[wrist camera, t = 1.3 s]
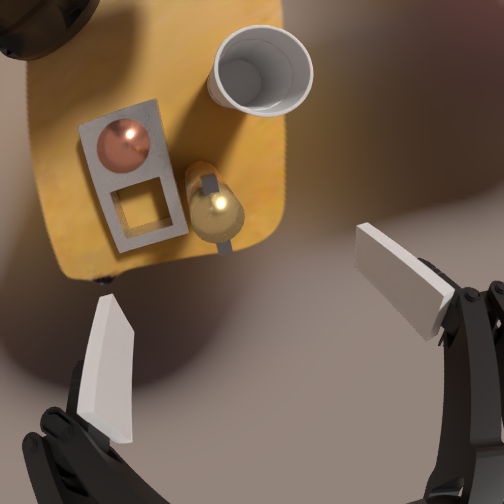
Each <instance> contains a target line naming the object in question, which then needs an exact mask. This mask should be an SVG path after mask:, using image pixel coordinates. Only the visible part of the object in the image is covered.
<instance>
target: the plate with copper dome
mask: <svg viewBox="0 0 504 504" xmlns="http://www.w3.org/2000/svg"><path fill="white" fill-rule="evenodd" d="M78 130H79V134H80V138H81V142H82V146H83V150H84V153H85V157H86V160H87V164H88V167H89V171H90V174H91V177H92V180H93V183H94V186H95V189H96V192H97V195H98V198H99V201H100V204H101V207H102V210H103V212H104V215H105V218H106V221H107V223H108V226H109V228H110V231H111V233H112V236H113V238H114V241H115V243H116V246H117V248H118V251H119V253H123V252H126V251H129V250H132V249H136V248H139V247H142V246H146V245H149V244H153V243H156V242H159V241H163V240H166V239H170V238H173V237H177V236H180V235H184V234H188V233H189V230H188V223H187V219H186V216H185V212H184V209H183V205H182V201H181V197H180V194H179V190H178V186H177V182H176V178H175V174H174V170H173V166H172V162H171V158H170V154H169V150H168V146H167V141H166V137H165V133H164V128H163V124H162V119H161V115H160V110H159V105H158V100H157V99H152V100H149V101H145V102H142V103H139V104H136V105H132V106H129V107H126V108H123V109H120V110H118V111H115V112H112V113H109V114H107V115H104V116H101V117H99V118H96V119H94V120H91V121H89V122H86V123H84V124H82V125H79V126H78ZM156 177H160V181H161V184H162V188H163V191H164V195H165V199H166V202H167V205H168V209H169V212H170V216H171V217H168V218H165V219H161V220H158V221H154V222H151V223H148V224H144V225H141V226H138V227H135V228H131V229H129V226H128V223H127V221H126V218H125V215H124V212H123V209H122V206H121V203H120V200H119V197H118V194H117V191H116V190H119V189H122V188H125V187H128V186H131V185H134V184H137V183H140V182H143V181H146V180H150V179H153V178H156Z"/></svg>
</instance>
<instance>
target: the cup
mask: <svg viewBox="0 0 504 504" xmlns="http://www.w3.org/2000/svg"><path fill="white" fill-rule="evenodd" d="M312 81H313V66H312V62H311V59H310V56H309V54H308V52H307V50H306V49H305V48H304V46H303V45H302V44H301V42H300V41H299V40H298V39H297V38H295V37H294V36H293V35H291V34H290V33H288V32H287V31H285V30H282V29H280V28H277V27H273V26H268V25H253V26H248V27H245V28H242V29H239V30H237V31H236V32H234V33H232V34H231V35H230V36H228V37H227V38H226V39H225V40H224V41H223V43H222V44H221V45H220V47H219V49H218V51H217V53H216V56H215V60H214V64H213V67H212V70H211V72H210V74H209V76H208V80H207V88H208V92H209V94H210V96H211V98H212V99H213V100H214V101H215V102H216V103H217V104H219V105H221V106H223V107H226V108H231V109H237V110H239V111H242V112H245V113H247V114H250V115H254V116H259V117H274V116H279V115H283V114H286V113H288V112H290V111H292V110H293V109H295V108H296V107H297V106H299V105H300V104H301V103H302V102H303V101H304V99H305V98H306V96H307V95H308V93H309V91H310V89H311V85H312Z"/></svg>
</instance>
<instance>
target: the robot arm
mask: <svg viewBox="0 0 504 504" xmlns="http://www.w3.org/2000/svg"><path fill="white" fill-rule="evenodd" d="M99 1H100V0H0V51H1V52H2V53H3V54H4V55H6V56H7V57H10V58H13V59H17V60H24V61H27V60H34V59H38V58H41V57H43V56H46V55H48V54H50V53H52V52H53V51H55V50H57V49H58V48H60V47H61V46H63V45H64V44H65V43H66V42H68V41H69V40H70V39H71V38H72V37H73V36H75V35H76V34H77V33H78V32H79V31H80V29H81V28H82V27H83V26H84V25H85V24H86V23H87V21H88V20H89V19H90V17H91V16H92V14H93V13H94V11H95V9H96V7H97V5H98V3H99ZM356 227H357V228H356V252H355V268H356V269H357V270H358V271H359V272H360V273H361V274H362V275H363V276H364V277H365V278H366V279H367V280H368V281H369V282H370V283H371V284H372V285H373V286H374V287H375V288H376V289H377V290H378V291H379V292H380V293H381V294H382V295H383V296H384V297H385V298H386V299H387V300H388V301H389V302H390V303H391V304H392V305H393V306H394V307H395V308H396V310H397V311H398V312H399V313H400V314H401V315H402V316H403V317H404V318H405V319H406V320H407V321H408V322H409V323H410V324H411V325H412V326H413V328H414V329H415V330H416V331H417V332H418V333H419V334H420V335H421V336H422V337H423V338H424V340H425V341H428V340H430V339H431V338H433V337H434V336H436V335H437V334H438V331H439V329H440V327H441V326H442V327H443V328H444V329H445V330H444V332H443V334H442V337H441V339H440V341H439V344H438V346H440V345H441V343H442V341H443V342H444V345H443V346H444V402H443V416H442V427H441V436H440V444H439V450H438V456H437V462H436V466H435V468H434V471H433V472H432V474H431V475H430V477H429V480H428V482H427V486H426V489H425V493H424V497H423V499H420V500H417V501H414V502H410V503H407V504H504V501H503V500H504V443H503V442H502V441H501V417H502V421H503V426H504V283H503V282H501V281H493V282H492V283H491V284H490V287H489V290H487V291H483V292H479V291H478V290H476V289H474V288H471V287H465V288H463V289H462V288H461V287H459V286H458V285H457V284H456V283H455V282H453V281H452V280H451V279H450V278H449V277H447V276H446V275H445V274H444V273H441V271H440V270H439V269H436V267H435V266H434V265H432V264H431V263H430V262H428V261H426V260H424V259H421V258H415V257H414V256H413V255H412V254H410V253H409V252H407V251H406V250H405V249H404V248H402V247H401V246H399V245H398V244H397V243H396V242H394V241H393V240H391V239H390V238H389V237H387V236H386V235H384V234H383V233H382V232H380V231H379V230H377V229H376V228H374V227H373V226H371V225H370V224H369V223H364V224H361V225H357V226H356ZM498 320H500V322H501V326H500V327H499V328H498V326H497V322H498ZM133 341H134V331H133V329H132V327H131V326H130V324H129V322H128V321H127V319H126V317H125V316H124V314H123V312H122V310H121V309H120V307H119V305H118V303H117V301H116V299H115V298H114V296H113V294H110V295H106V296H103V297H100V299H99V302H98V306H97V309H96V313H95V317H94V321H93V325H92V329H91V334H90V338H89V342H88V347H87V352H86V357H85V360H81V361H78V362H77V364H76V366H75V368H74V370H73V373H72V378H71V381H72V382H71V384H70V390H69V395H68V402H67V409H66V413H65V412H64V411H63V410H62V409H60V408H58V407H51V408H49V409H47V410H46V411H45V412H44V414H43V415H42V418H41V422H40V427H41V430H42V432H44V433H45V434H46V435H47V436H44V437H41V436H40V435H39V434H37V433H35V432H30V433H28V434H27V435H26V436H25V438H24V440H23V443H22V450H23V455H24V459H25V463H26V467H27V471H28V474H29V478H30V481H31V484H32V487H33V490H34V493H35V496H36V499H37V502H38V504H170V503H169V502H168V501H166V500H165V499H164V498H163V497H162V496H161V495H159V494H158V493H157V492H156V491H155V490H154V489H153V488H151V487H150V486H149V485H148V484H147V483H146V482H145V481H144V480H143V479H142V478H141V477H140V476H139V475H138V474H137V473H136V472H135V471H134V470H133V469H132V468H131V467H130V466H129V465H128V464H127V463H126V462H125V461H124V460H123V459H122V458H121V457H120V456H119V454H118V453H117V452H116V451H115V450H114V449H113V448H112V447H111V446H110V442H109V439H111V440H112V441H114V442H115V443H117V444H119V443H132V442H133V441H132V440H133V439H132V400H131V399H132V391H131V390H132V359H133ZM462 487H463V490H462V495H461V497H460V496H458V494H459V491H460V490H461V488H462Z"/></svg>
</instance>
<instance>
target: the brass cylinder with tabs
mask: <svg viewBox="0 0 504 504" xmlns="http://www.w3.org/2000/svg"><path fill="white" fill-rule="evenodd" d="M184 180H185V187H186V193H187V200H188V206H189V212H190V218H191V224H192V227H193V230H194V232H195V233H196V235H197V236H198V237H200V238H201V239H202V240H204V241H206V242H210V243H216V246H217V250H218V253H219V256H221V255H226V254H229V253H233V251H232V246H231V242H230V239H232V238H233V237H235V236H236V235H237V234H238V233H239V231H240V230H241V228H242V226H243V223H244V210H243V207H242V205H241V204H240V202H239V201H238V199H237V198H236V196H235V195H234V194H233V192H232V191H231V190H230V188H229V187H228V185H227V184H226V183H225V181H224V180H223V178H222V177H221V176H220V174H219V173H218V171H217V170H216V169H215V167H214V166H213V165H212V164H211V163H209V162H207V161H196V162H194V163H192V164H191V165H189V166H188V168H187V169H186V171H185V175H184Z"/></svg>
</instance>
